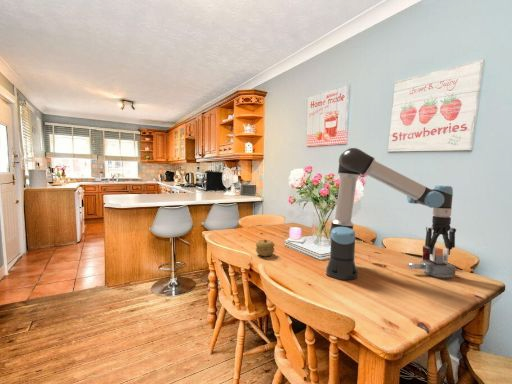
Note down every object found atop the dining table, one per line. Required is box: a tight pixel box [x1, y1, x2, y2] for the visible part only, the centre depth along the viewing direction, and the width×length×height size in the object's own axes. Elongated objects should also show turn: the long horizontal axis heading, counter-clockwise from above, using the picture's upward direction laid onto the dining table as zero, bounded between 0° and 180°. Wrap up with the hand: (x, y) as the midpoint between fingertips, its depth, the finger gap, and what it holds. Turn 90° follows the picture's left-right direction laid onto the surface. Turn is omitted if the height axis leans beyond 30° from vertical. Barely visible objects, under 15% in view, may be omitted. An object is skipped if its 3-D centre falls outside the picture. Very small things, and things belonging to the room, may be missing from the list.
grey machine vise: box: [407, 259, 457, 280], centre depth 132 cm, size 21×12×6 cm, turn 86°
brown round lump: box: [255, 238, 275, 257], centre depth 160 cm, size 12×12×10 cm
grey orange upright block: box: [432, 247, 444, 265], centre depth 131 cm, size 4×4×11 cm
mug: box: [421, 245, 439, 260], centre depth 145 cm, size 11×8×10 cm
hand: (438, 260), depth 131 cm, fingers open, 6 cm apart
